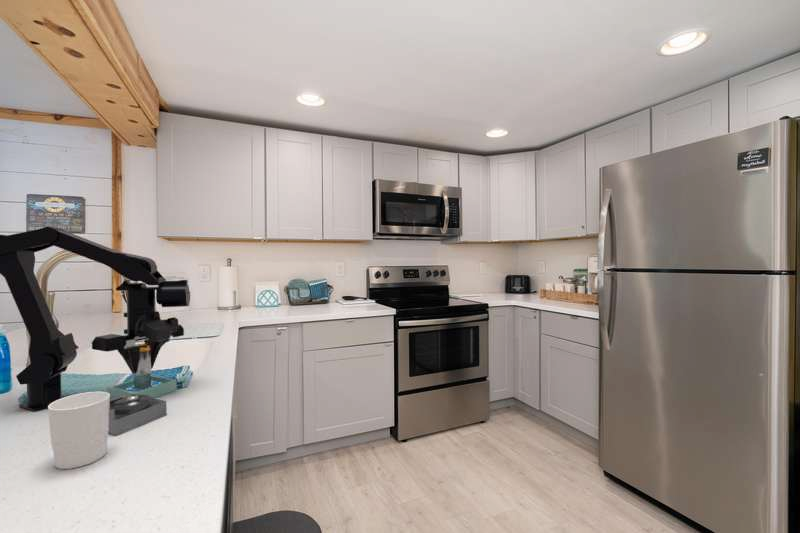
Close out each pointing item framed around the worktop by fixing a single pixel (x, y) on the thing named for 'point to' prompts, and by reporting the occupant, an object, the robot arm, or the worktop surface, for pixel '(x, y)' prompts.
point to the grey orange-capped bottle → (143, 367)
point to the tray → (152, 392)
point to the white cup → (79, 428)
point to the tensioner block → (133, 412)
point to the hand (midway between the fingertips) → (142, 370)
